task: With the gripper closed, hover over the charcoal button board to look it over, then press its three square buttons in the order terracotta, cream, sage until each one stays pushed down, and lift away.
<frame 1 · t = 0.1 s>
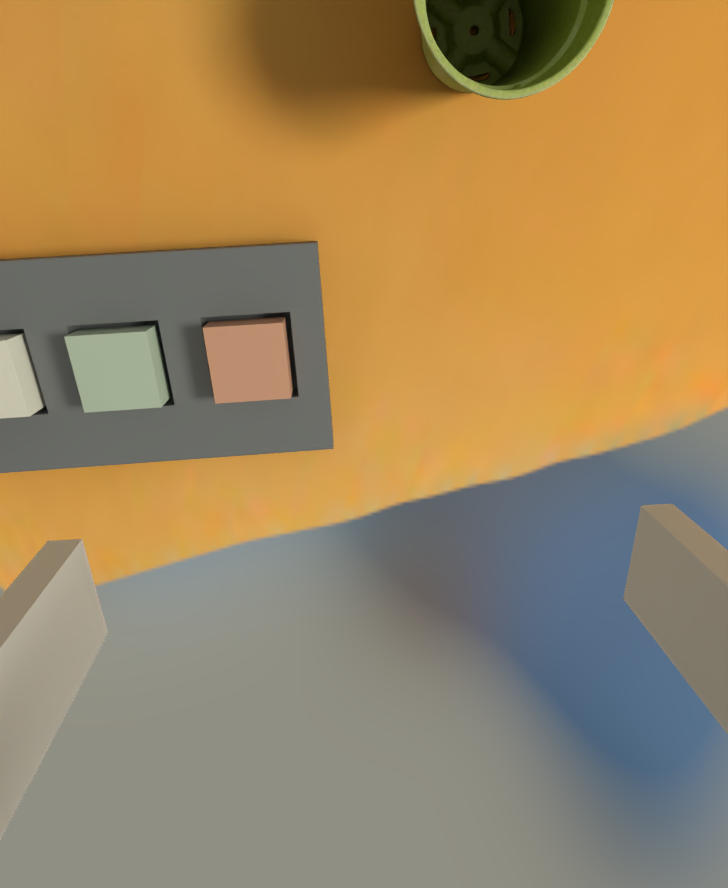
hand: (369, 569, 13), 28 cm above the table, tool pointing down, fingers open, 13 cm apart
button board: (134, 357, 38), on the table
plant pot: (469, 34, 33), on the table
terracotta button: (250, 360, 36), point 3 cm above the table, slide at 0.0 cm
sage button: (120, 368, 36), point 3 cm above the table, slide at 0.0 cm
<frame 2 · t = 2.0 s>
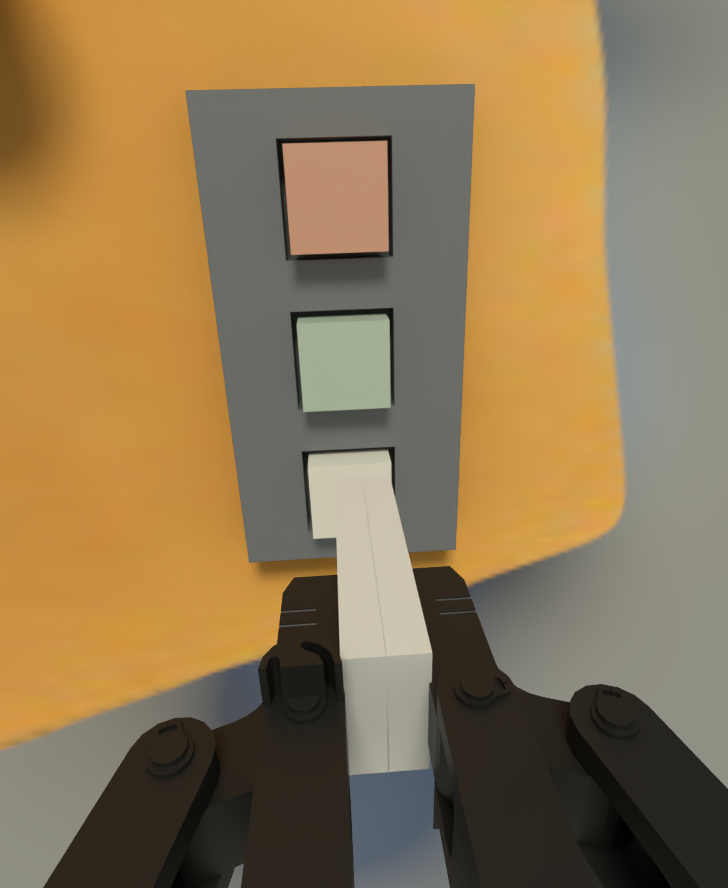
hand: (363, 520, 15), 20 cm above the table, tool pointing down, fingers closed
button board: (343, 350, 34), on the table
terracotta button: (337, 200, 28), point 3 cm above the table, slide at 0.0 cm
sage button: (344, 362, 31), point 3 cm above the table, slide at 0.0 cm
cream button: (350, 493, 35), point 3 cm above the table, slide at 0.0 cm
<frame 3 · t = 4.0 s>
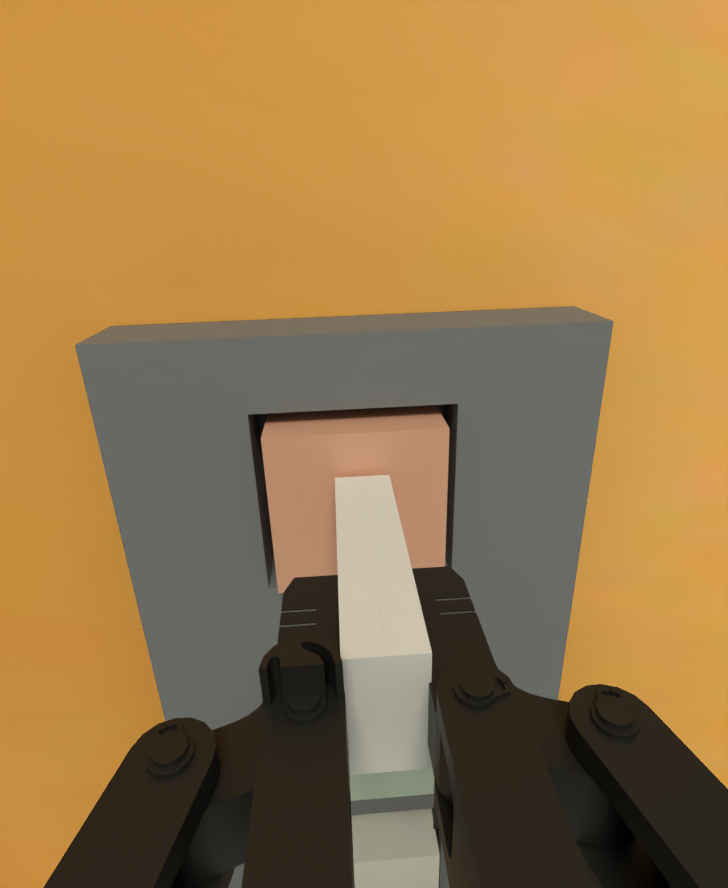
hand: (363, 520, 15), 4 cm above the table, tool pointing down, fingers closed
button board: (361, 658, 22), on the table
terracotta button: (357, 496, 16), point 2 cm above the table, slide at 0.7 cm, touching gripper
sage button: (366, 720, 19), point 3 cm above the table, slide at 0.0 cm
cream button: (372, 869, 22), point 3 cm above the table, slide at 0.0 cm
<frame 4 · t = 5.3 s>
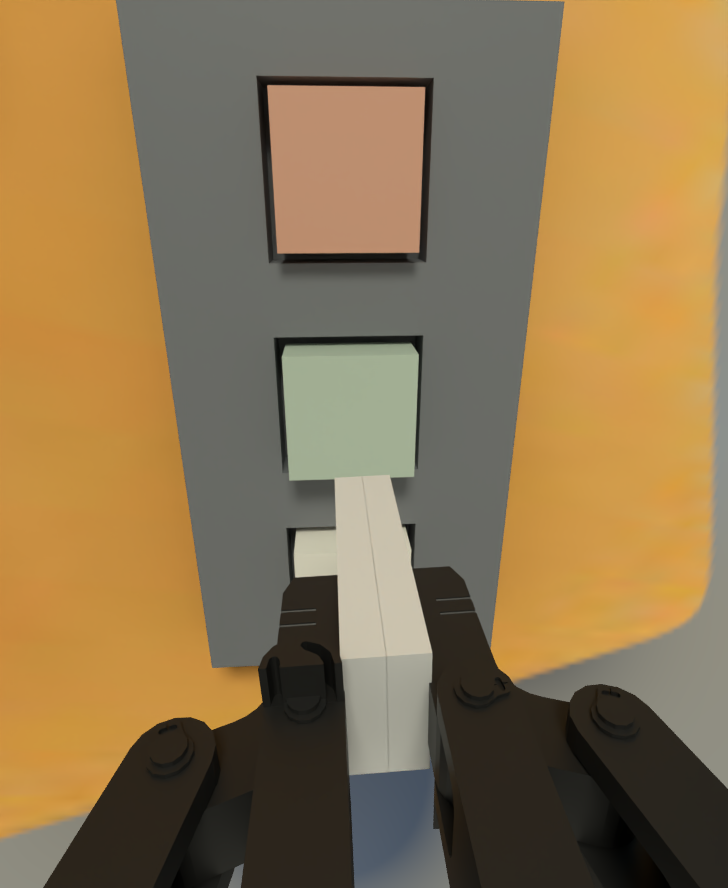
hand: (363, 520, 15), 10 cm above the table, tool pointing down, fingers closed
button board: (347, 389, 25), on the table
terracotta button: (346, 176, 19), point 2 cm above the table, slide at 0.7 cm
sage button: (350, 410, 22), point 3 cm above the table, slide at 0.0 cm
cream button: (352, 584, 25), point 3 cm above the table, slide at 0.0 cm
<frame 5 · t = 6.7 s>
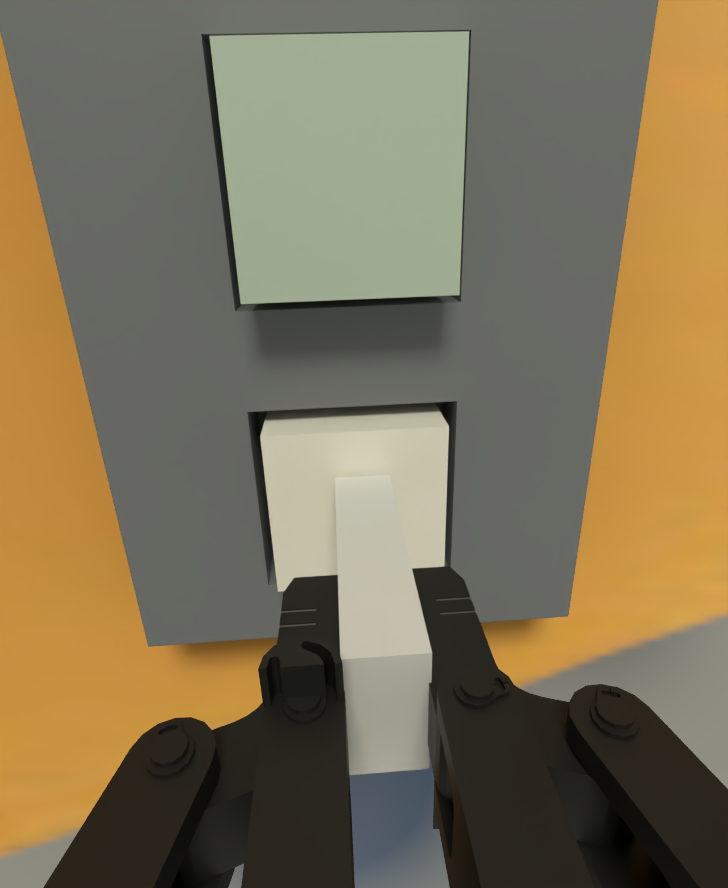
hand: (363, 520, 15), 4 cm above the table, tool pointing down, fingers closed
button board: (340, 186, 15), on the table
sage button: (344, 180, 12), point 3 cm above the table, slide at 0.0 cm
cream button: (356, 495, 16), point 2 cm above the table, slide at 0.6 cm, touching gripper
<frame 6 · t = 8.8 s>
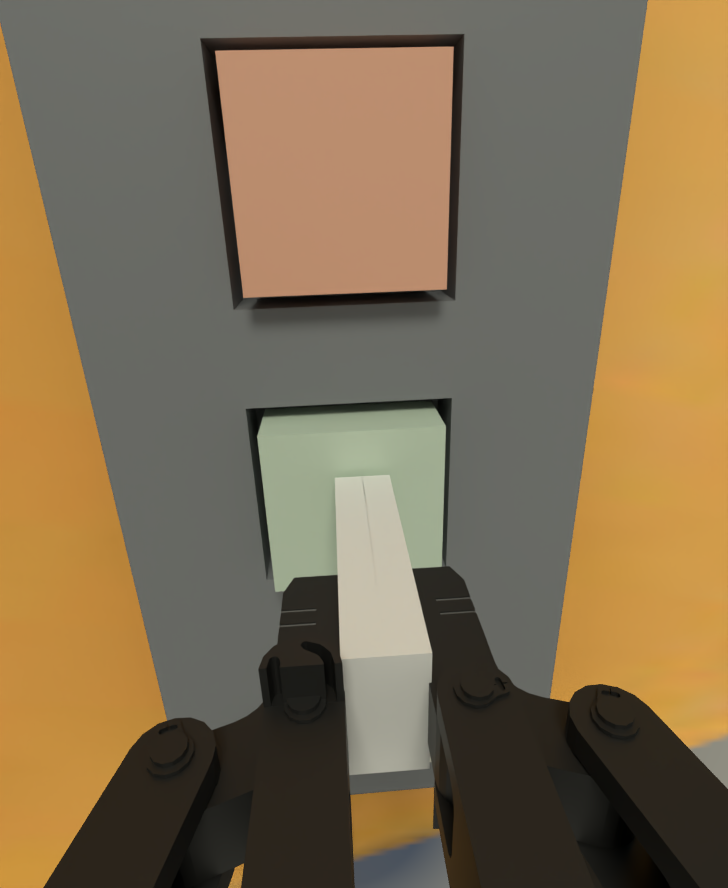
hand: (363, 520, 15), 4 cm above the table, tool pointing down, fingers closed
button board: (349, 459, 19), on the table
terracotta button: (339, 183, 13), point 2 cm above the table, slide at 0.7 cm
sage button: (353, 495, 16), point 3 cm above the table, slide at 0.4 cm, touching gripper
cream button: (362, 693, 20), point 2 cm above the table, slide at 0.7 cm
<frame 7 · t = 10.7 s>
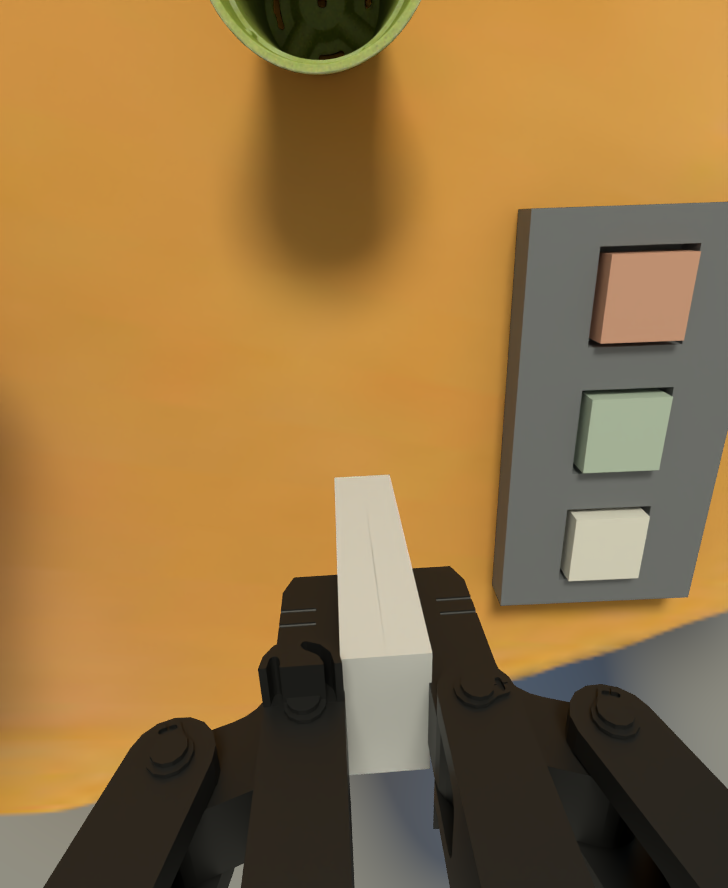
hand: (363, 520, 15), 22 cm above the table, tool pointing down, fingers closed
button board: (604, 418, 38), on the table
plant pot: (323, 9, 29), on the table
terracotta button: (639, 296, 32), point 2 cm above the table, slide at 0.7 cm
sage button: (618, 429, 36), point 2 cm above the table, slide at 0.7 cm
cream button: (601, 541, 39), point 2 cm above the table, slide at 0.7 cm
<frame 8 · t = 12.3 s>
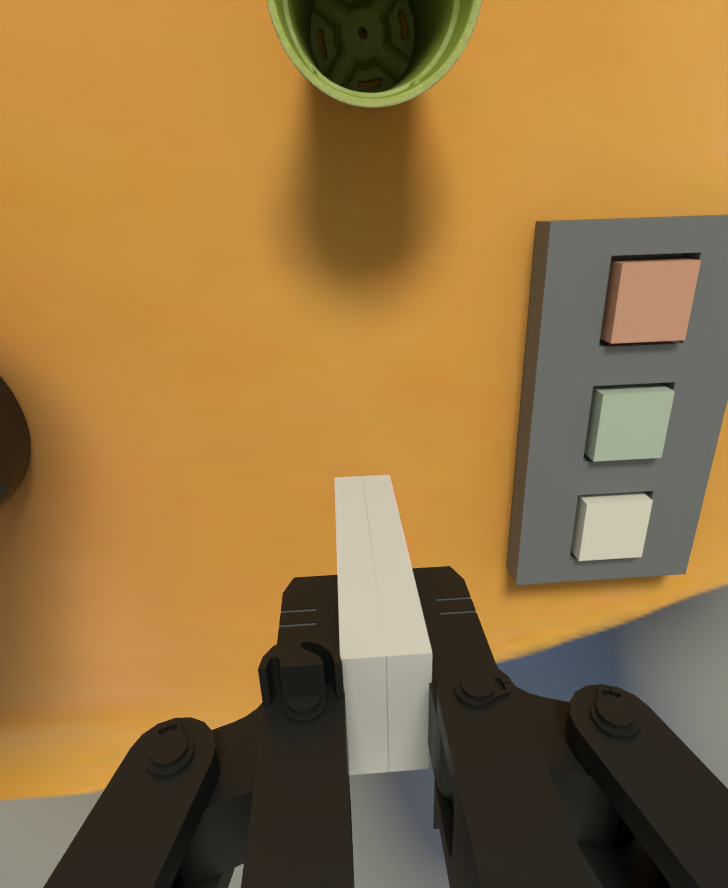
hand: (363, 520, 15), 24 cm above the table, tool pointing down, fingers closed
button board: (610, 411, 41), on the table
plant pot: (362, 39, 31), on the table
terracotta button: (645, 300, 36), point 2 cm above the table, slide at 0.7 cm
sage button: (625, 421, 39), point 2 cm above the table, slide at 0.7 cm
cream button: (608, 523, 42), point 2 cm above the table, slide at 0.7 cm
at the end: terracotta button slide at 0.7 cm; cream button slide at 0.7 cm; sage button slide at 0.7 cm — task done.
